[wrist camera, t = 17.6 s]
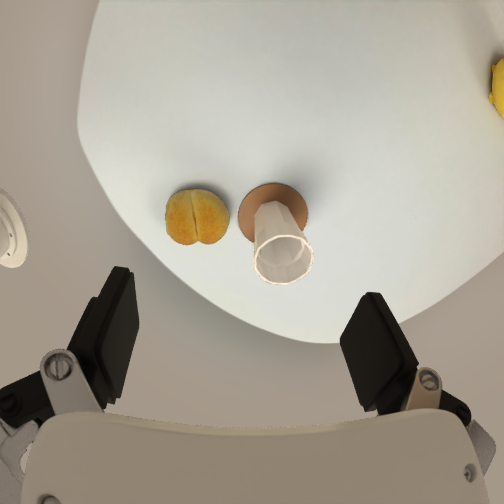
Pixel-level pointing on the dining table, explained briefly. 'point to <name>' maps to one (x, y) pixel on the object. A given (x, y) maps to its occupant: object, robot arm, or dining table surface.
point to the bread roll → (196, 217)
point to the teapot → (498, 87)
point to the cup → (280, 245)
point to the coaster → (269, 194)
